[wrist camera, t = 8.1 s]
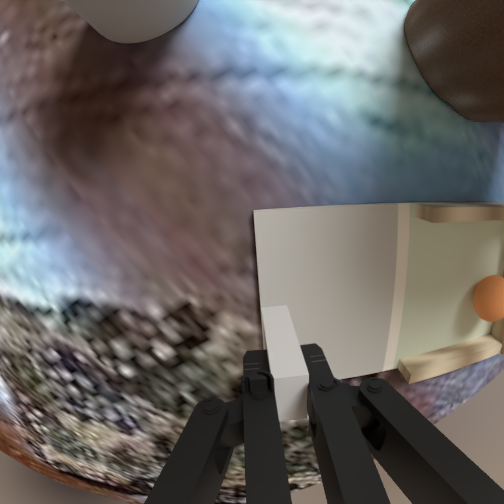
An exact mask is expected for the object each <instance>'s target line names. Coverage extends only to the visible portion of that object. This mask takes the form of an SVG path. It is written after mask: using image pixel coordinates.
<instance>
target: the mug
mask: <svg viewBox="0 0 504 504" xmlns="http://www.w3.org/2000/svg"><path fill="white" fill-rule="evenodd" d="M61 1H62V2H63V3H65V4H66V5H67V6H68V7H70V8H71V9H72V10H73V11H74V12H76V13H77V14H78V15H79V16H81V17H82V18H83V19H84V20H85V21H86V22H88V23H89V24H90V25H91V26H92V27H93V28H94V29H95V30H96V31H97V32H98V33H100V34H101V35H102V36H104V37H105V38H107V39H109V40H111V41H114V42H118V43H139V42H144V41H147V40H151V39H154V38H156V37H159V36H161V35H163V34H165V33H167V32H168V31H170V30H172V29H173V28H175V27H176V26H178V25H179V24H180V23H181V22H182V21H184V20H185V19H186V18H187V17H188V16H189V15H190V13H191V12H192V11H193V10H194V8H195V6H196V5H197V2H198V0H61Z"/></svg>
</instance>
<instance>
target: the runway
mask: <svg viewBox="0 0 504 504" xmlns="http://www.w3.org/2000/svg"><path fill="white" fill-rule="evenodd" d="M415 203H448V202H409V203H373V204H348V205H327V206H309V207H292V208H277V209H263V210H253V213H254V226H255V239H256V252H257V265H258V279H259V292H260V306H261V308H262V307H272V306H283V305H287V308H288V311H289V314H290V317H291V320H292V323H293V326H294V329H295V332H296V335H297V338H298V341H299V345H305V344H312V343H316V344H317V345H318V346H320V347H321V348H322V350H323V352H324V355H325V357H326V360H327V362H328V364H329V367H330V369H331V371H332V374H333V376H334V377H335V378H336V379H338V380H339V379H345V378H351V377H356V376H362V375H367V374H372V373H377V372H382V371H387V370H391V369H396V368H398V364H399V360H400V359H401V358H406V357H410V356H414V355H418V354H422V353H426V352H430V351H434V350H437V349H441V348H445V347H448V346H452V345H455V344H458V343H462V342H465V341H468V340H471V339H474V338H477V337H480V336H483V335H486V334H489V333H490V331H491V327H492V324H493V322H488V321H485V320H483V319H481V318H480V317H479V316H478V314H477V313H476V311H475V309H474V305H473V296H474V291H475V289H476V287H477V285H478V284H479V282H480V281H481V280H482V279H484V278H485V277H487V276H490V275H498V276H501V277H503V271H504V220H491V221H467V222H446V223H431V222H428V221H425V220H422V219H419V218H416V217H415ZM449 203H450V202H449ZM451 203H453V202H451ZM455 203H457V202H455ZM459 203H460V202H459ZM462 203H463V202H462ZM464 203H466V202H464ZM261 320H262V310H261ZM262 333H263V323H262ZM263 347H264V336H263ZM264 350H265V348H264Z"/></svg>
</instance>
